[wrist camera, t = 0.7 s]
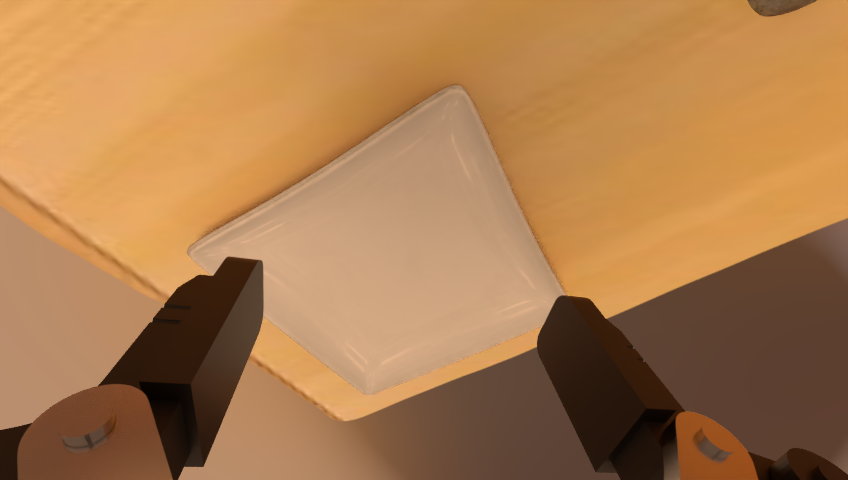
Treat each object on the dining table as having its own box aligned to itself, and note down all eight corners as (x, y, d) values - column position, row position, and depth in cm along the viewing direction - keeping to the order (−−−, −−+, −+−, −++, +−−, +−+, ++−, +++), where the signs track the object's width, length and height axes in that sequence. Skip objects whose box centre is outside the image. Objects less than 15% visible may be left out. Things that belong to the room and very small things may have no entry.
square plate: (454, 67, 27) (462, 77, 23) (562, 291, 41) (576, 316, 38) (197, 231, 33) (176, 257, 30) (368, 374, 47) (366, 402, 44)
